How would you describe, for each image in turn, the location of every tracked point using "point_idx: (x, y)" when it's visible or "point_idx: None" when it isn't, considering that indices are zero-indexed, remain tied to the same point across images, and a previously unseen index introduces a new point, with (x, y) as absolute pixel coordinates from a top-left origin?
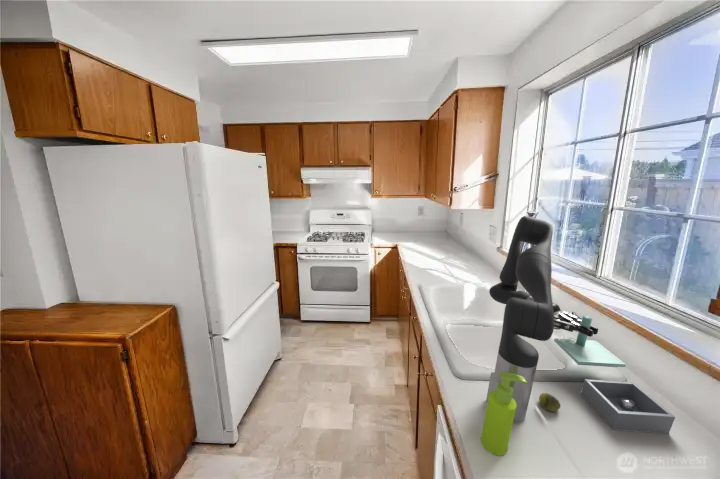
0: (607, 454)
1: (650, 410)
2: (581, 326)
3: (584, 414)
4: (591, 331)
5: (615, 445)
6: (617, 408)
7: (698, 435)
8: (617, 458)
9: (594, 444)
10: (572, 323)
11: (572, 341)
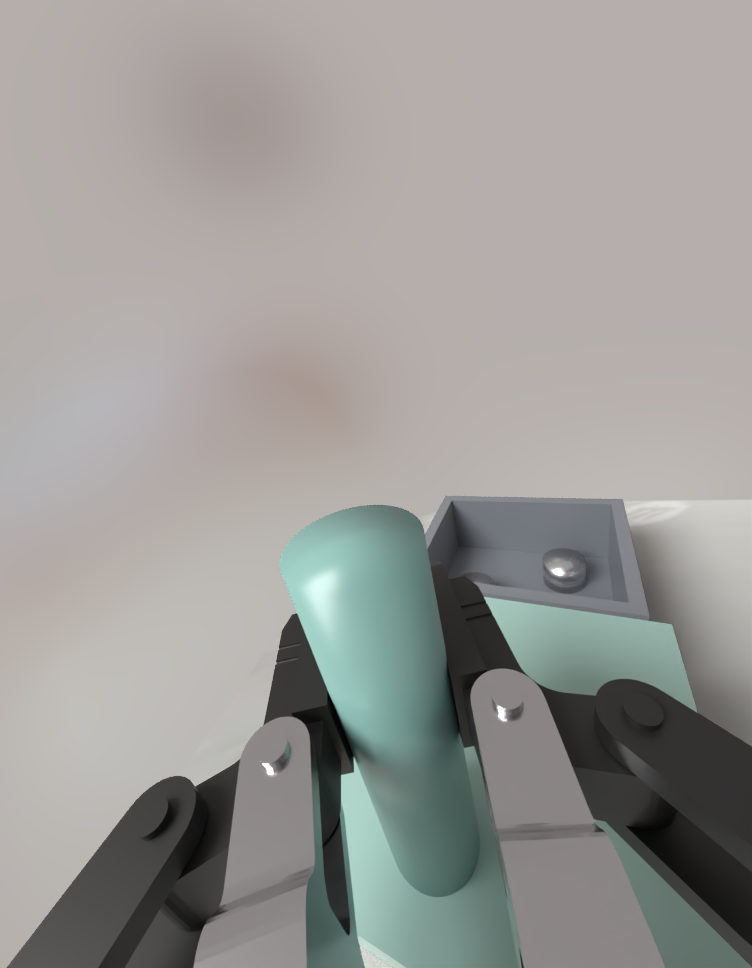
0: (694, 523)
1: (444, 553)
2: (478, 650)
3: (686, 614)
4: (442, 569)
5: (644, 537)
6: (554, 567)
7: None
8: (668, 517)
9: (721, 540)
10: (577, 783)
11: (491, 929)
